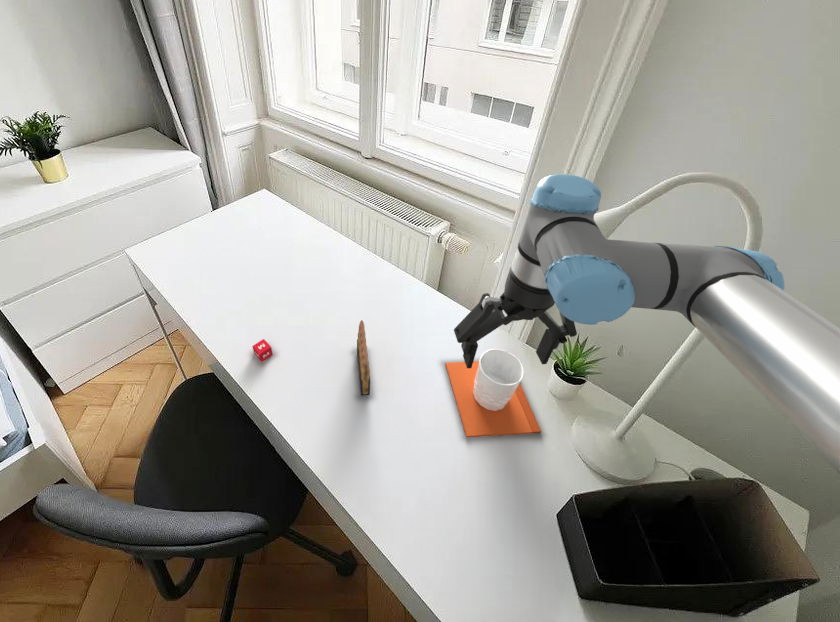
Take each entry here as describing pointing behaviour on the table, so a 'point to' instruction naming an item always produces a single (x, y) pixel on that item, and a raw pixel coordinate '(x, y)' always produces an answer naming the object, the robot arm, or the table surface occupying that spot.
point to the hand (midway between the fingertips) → (504, 360)
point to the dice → (262, 350)
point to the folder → (489, 422)
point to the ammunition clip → (363, 361)
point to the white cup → (497, 379)
